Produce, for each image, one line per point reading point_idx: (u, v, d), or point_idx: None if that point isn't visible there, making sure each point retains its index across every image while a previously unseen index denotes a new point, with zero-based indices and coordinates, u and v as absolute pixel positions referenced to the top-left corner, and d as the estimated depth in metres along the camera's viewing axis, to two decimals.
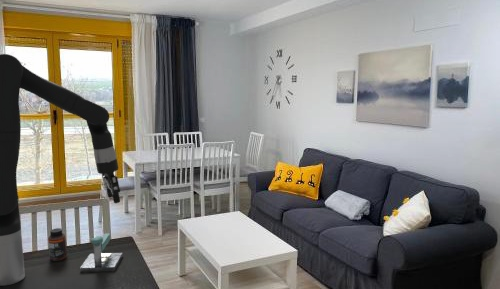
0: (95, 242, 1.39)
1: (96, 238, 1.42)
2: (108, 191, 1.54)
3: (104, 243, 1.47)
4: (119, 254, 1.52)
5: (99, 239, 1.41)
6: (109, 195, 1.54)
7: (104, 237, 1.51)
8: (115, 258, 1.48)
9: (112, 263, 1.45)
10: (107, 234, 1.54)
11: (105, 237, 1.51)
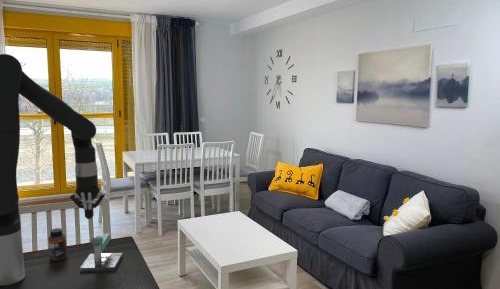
0: (95, 242, 1.39)
1: (96, 238, 1.42)
2: None
3: (104, 243, 1.47)
4: (119, 254, 1.52)
5: (99, 239, 1.41)
6: None
7: (104, 237, 1.51)
8: (115, 258, 1.48)
9: (112, 263, 1.45)
10: (107, 234, 1.54)
11: (105, 237, 1.51)
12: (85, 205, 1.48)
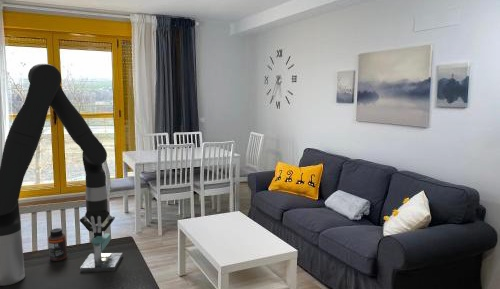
0: (95, 242, 1.39)
1: (96, 238, 1.42)
2: (97, 235, 1.51)
3: (104, 243, 1.47)
4: (119, 254, 1.52)
5: (99, 239, 1.41)
6: None
7: (104, 237, 1.51)
8: (115, 258, 1.48)
9: (112, 263, 1.45)
10: (107, 234, 1.54)
11: (105, 237, 1.51)
12: (94, 228, 1.50)
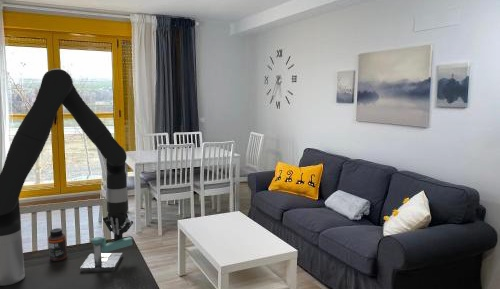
0: (91, 241, 1.40)
1: (98, 238, 1.42)
2: None
3: (112, 246, 1.45)
4: (119, 254, 1.52)
5: (97, 240, 1.40)
6: None
7: (121, 240, 1.48)
8: (115, 258, 1.48)
9: (112, 263, 1.45)
10: (128, 238, 1.50)
11: (121, 240, 1.48)
12: (114, 229, 1.49)
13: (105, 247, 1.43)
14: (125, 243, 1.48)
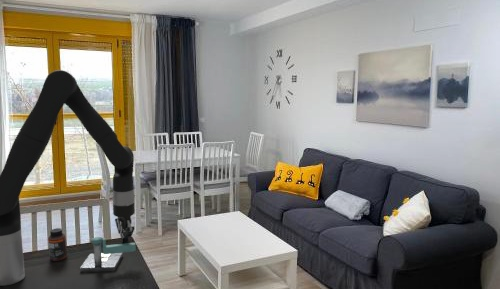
0: None
1: (99, 238, 1.42)
2: None
3: (112, 249, 1.42)
4: (119, 254, 1.52)
5: (95, 240, 1.40)
6: None
7: (123, 244, 1.44)
8: (115, 258, 1.48)
9: (112, 263, 1.45)
10: (132, 244, 1.45)
11: (123, 245, 1.44)
12: (120, 232, 1.46)
13: (104, 249, 1.42)
14: (127, 248, 1.44)
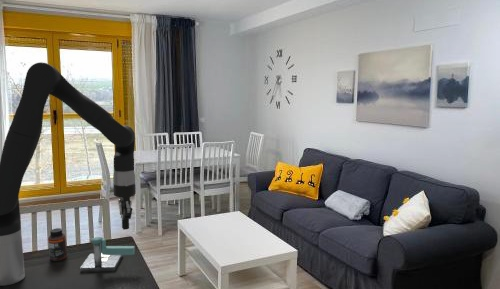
0: None
1: (99, 238, 1.42)
2: None
3: (111, 250, 1.41)
4: None
5: (95, 240, 1.40)
6: None
7: (122, 247, 1.42)
8: (115, 258, 1.48)
9: (112, 263, 1.45)
10: (130, 247, 1.42)
11: (122, 247, 1.42)
12: (121, 214, 1.43)
13: (103, 249, 1.41)
14: (125, 251, 1.41)
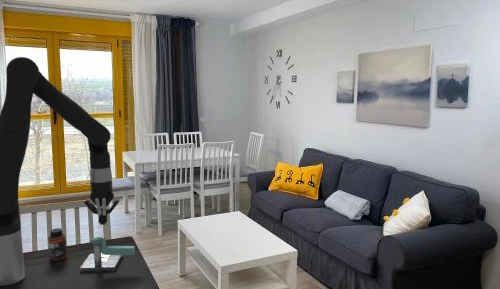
0: None
1: (99, 238, 1.42)
2: None
3: (111, 250, 1.41)
4: None
5: (95, 240, 1.40)
6: None
7: (122, 247, 1.42)
8: (115, 258, 1.48)
9: (112, 263, 1.45)
10: (130, 247, 1.42)
11: (122, 247, 1.42)
12: (99, 211, 1.47)
13: (103, 249, 1.41)
14: (125, 251, 1.41)
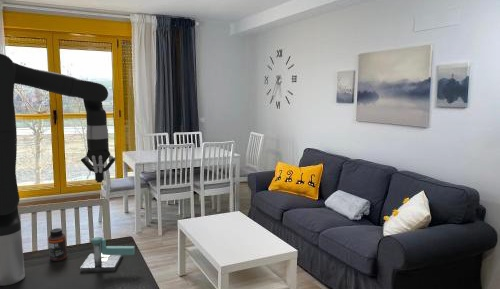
0: None
1: (99, 238, 1.42)
2: None
3: (111, 250, 1.41)
4: None
5: (95, 240, 1.40)
6: None
7: (122, 247, 1.42)
8: (115, 258, 1.48)
9: (112, 263, 1.45)
10: (130, 247, 1.42)
11: (122, 247, 1.42)
12: (96, 168, 1.50)
13: (103, 249, 1.41)
14: (125, 251, 1.41)
